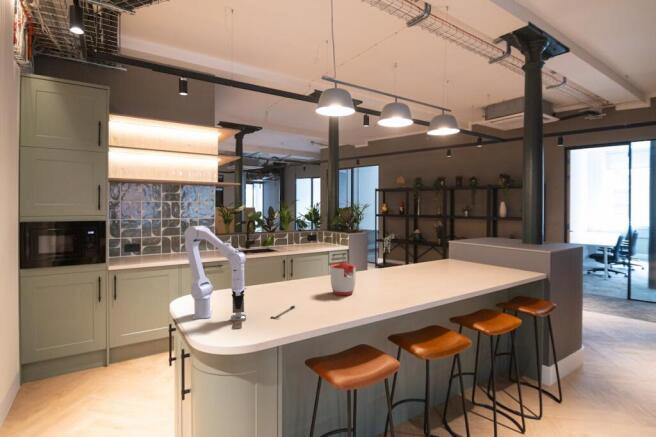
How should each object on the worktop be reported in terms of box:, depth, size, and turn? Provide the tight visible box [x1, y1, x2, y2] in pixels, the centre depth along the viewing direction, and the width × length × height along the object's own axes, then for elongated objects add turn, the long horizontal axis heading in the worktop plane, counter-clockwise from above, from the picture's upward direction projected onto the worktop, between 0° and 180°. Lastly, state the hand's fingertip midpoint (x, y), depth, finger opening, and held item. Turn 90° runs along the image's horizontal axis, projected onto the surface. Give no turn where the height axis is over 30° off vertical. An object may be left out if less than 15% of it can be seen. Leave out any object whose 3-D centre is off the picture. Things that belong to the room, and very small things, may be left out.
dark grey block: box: [231, 296, 245, 314], centre depth 170 cm, size 5×5×6 cm
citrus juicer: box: [330, 260, 357, 296], centre depth 219 cm, size 16×17×20 cm
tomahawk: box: [270, 305, 296, 320], centre depth 181 cm, size 21×7×1 cm, turn 155°
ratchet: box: [230, 312, 247, 330], centre depth 166 cm, size 16×7×5 cm, turn 14°
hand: (238, 307), depth 170 cm, fingers closed on dark grey block, 5 cm apart
